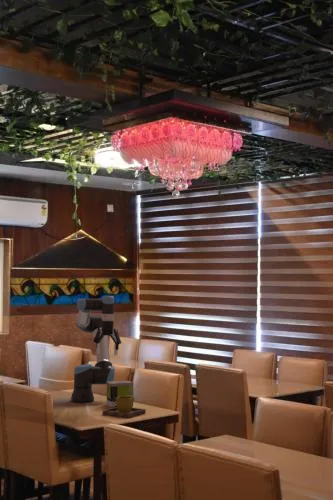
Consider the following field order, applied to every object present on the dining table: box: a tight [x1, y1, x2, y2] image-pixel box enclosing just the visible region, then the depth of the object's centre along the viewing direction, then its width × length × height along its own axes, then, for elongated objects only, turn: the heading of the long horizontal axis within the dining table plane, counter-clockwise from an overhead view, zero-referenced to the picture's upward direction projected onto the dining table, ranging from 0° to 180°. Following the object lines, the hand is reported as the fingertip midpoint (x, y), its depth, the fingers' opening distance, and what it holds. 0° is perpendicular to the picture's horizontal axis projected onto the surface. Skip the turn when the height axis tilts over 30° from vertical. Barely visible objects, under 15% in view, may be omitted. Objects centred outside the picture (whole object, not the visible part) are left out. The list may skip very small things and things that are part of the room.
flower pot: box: [116, 396, 135, 413], centre depth 391 cm, size 9×9×9 cm
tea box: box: [106, 380, 134, 408], centre depth 420 cm, size 15×10×15 cm, turn 108°
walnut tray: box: [102, 407, 147, 419], centre depth 391 cm, size 18×18×2 cm
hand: (107, 354), depth 420 cm, fingers open, 13 cm apart
